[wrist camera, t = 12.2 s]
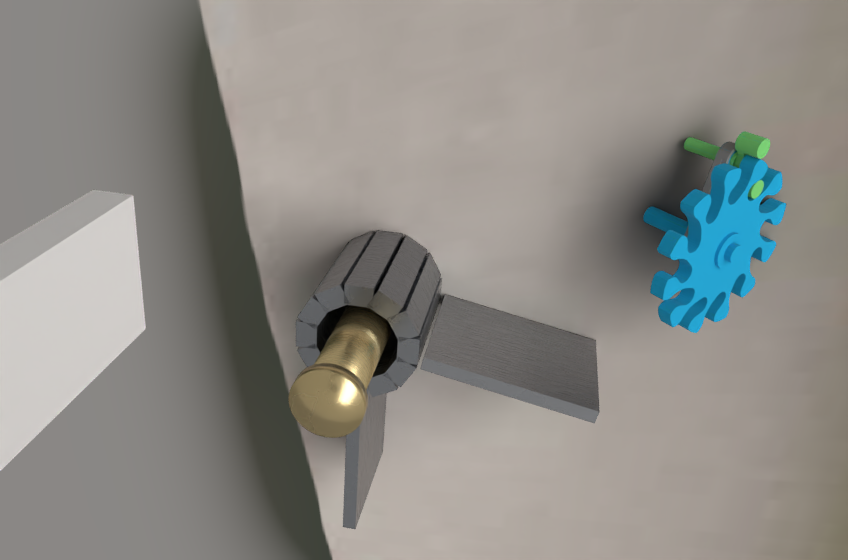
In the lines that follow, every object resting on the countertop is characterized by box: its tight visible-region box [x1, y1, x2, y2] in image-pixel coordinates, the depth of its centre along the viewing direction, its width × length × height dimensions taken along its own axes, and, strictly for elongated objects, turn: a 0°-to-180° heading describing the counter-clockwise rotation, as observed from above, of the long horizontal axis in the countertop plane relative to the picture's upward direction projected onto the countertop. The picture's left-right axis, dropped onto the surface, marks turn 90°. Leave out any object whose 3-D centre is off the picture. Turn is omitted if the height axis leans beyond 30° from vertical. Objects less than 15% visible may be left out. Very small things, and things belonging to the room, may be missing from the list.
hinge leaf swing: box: [421, 294, 599, 423], centre depth 47 cm, size 10×1×8 cm, turn 76°
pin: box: [289, 305, 392, 438], centre depth 45 cm, size 4×4×14 cm
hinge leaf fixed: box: [296, 230, 442, 529], centre depth 49 cm, size 17×7×8 cm, turn 176°
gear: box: [643, 132, 786, 333], centre depth 43 cm, size 11×6×10 cm
